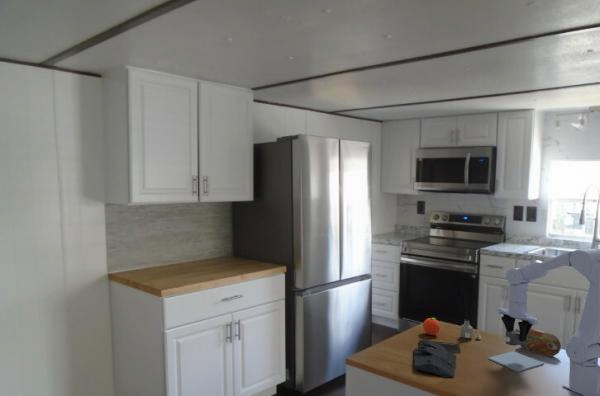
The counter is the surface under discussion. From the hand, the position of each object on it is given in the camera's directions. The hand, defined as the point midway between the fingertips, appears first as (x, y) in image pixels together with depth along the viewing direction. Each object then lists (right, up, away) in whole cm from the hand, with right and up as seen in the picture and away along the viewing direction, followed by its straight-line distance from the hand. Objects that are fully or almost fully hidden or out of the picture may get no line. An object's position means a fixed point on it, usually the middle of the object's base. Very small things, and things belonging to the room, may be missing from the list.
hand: (516, 338), depth 154 cm
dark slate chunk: (-30, -9, -2) cm, 32 cm away
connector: (0, -1, 0) cm, 1 cm away
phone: (-24, -8, +13) cm, 28 cm away
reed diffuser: (-8, -8, +24) cm, 27 cm away
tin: (+13, -9, +9) cm, 18 cm away
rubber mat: (0, -8, 0) cm, 8 cm away
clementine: (-22, -7, +27) cm, 36 cm away
